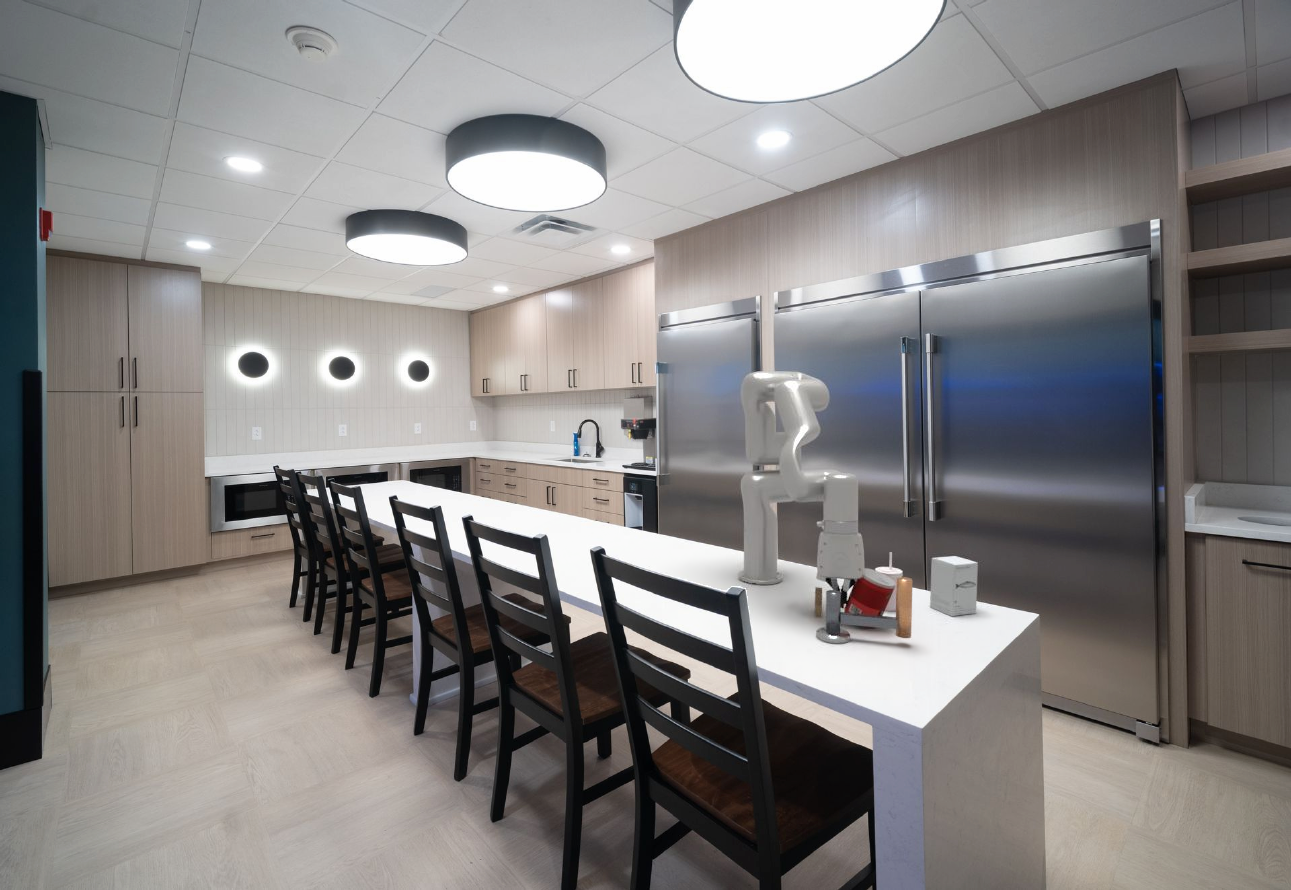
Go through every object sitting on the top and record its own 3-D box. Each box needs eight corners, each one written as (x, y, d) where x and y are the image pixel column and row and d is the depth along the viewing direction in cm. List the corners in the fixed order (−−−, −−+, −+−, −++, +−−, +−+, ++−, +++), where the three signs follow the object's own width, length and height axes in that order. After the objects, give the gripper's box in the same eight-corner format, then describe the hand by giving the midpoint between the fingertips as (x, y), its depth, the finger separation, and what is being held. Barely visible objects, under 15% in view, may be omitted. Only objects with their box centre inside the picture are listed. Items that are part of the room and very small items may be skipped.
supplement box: (952, 617, 140) (953, 564, 139) (929, 607, 147) (930, 557, 146) (977, 614, 142) (978, 562, 141) (953, 604, 149) (954, 554, 149)
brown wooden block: (815, 611, 145) (815, 587, 144) (822, 612, 144) (822, 587, 144) (814, 616, 141) (815, 592, 141) (821, 617, 140) (822, 592, 140)
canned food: (880, 633, 132) (899, 590, 129) (844, 620, 133) (862, 577, 130) (874, 617, 139) (892, 576, 136) (841, 605, 140) (858, 564, 138)
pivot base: (816, 630, 133) (816, 625, 133) (849, 633, 131) (849, 629, 131) (815, 641, 126) (815, 637, 126) (850, 645, 124) (850, 641, 124)
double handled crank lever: (910, 637, 125) (911, 577, 124) (912, 642, 122) (913, 581, 121) (825, 628, 130) (826, 571, 129) (825, 633, 127) (826, 575, 126)
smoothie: (907, 611, 145) (909, 554, 144) (887, 614, 142) (888, 557, 141) (888, 603, 151) (889, 548, 150) (868, 606, 148) (869, 551, 147)
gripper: (805, 528, 134) (805, 608, 135) (876, 532, 129) (876, 614, 130) (807, 523, 141) (807, 599, 142) (874, 525, 136) (874, 604, 137)
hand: (840, 606), depth 136 cm, fingers closed
